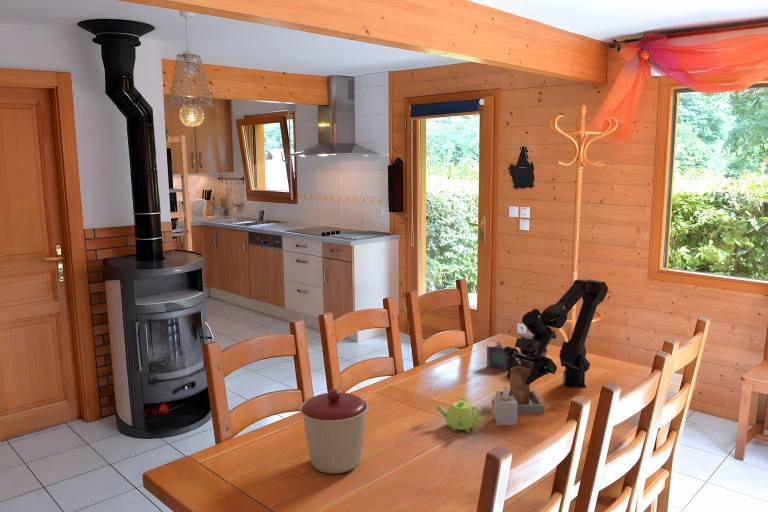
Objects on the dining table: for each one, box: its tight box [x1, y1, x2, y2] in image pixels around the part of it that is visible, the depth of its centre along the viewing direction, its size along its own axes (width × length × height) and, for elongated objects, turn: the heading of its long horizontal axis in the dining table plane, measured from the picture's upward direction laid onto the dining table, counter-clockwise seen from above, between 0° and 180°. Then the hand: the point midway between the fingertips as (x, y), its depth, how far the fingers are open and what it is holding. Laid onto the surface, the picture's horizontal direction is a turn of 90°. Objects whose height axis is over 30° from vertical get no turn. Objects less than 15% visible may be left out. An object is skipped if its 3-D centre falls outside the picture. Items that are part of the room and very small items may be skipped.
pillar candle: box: [519, 331, 547, 374], centre depth 236 cm, size 10×10×15 cm
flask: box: [486, 341, 509, 372], centre depth 238 cm, size 9×3×11 cm, turn 65°
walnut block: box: [509, 366, 531, 405], centre depth 202 cm, size 4×4×12 cm
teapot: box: [436, 397, 483, 433], centre depth 186 cm, size 11×12×8 cm
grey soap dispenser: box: [493, 385, 518, 426], centre depth 190 cm, size 6×6×11 cm
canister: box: [299, 388, 369, 475], centre depth 164 cm, size 18×18×21 cm
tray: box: [495, 389, 545, 415], centre depth 202 cm, size 13×13×3 cm
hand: (517, 381), depth 200 cm, fingers open, 7 cm apart
